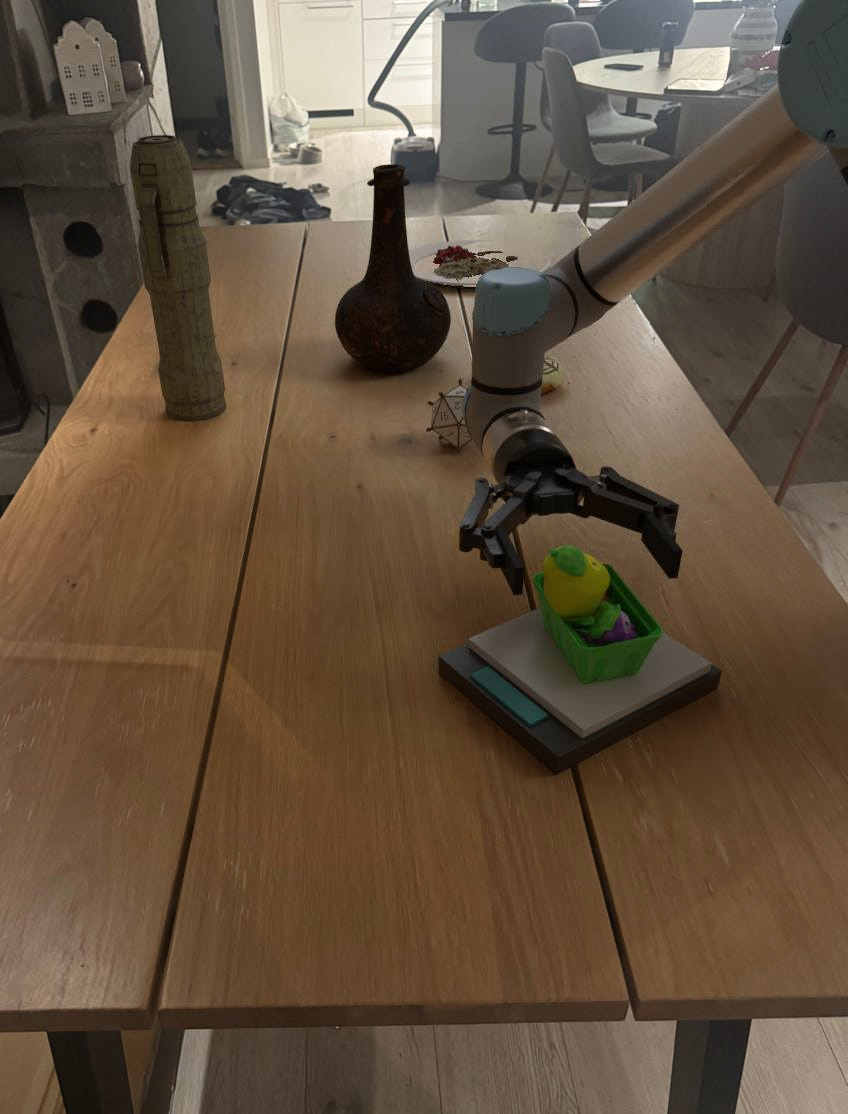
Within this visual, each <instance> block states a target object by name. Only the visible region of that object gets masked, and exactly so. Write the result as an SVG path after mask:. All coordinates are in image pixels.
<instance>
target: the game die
mask: <svg viewBox="0 0 848 1114" xmlns="http://www.w3.org/2000/svg"><path fill="white" fill-rule="evenodd" d="M457 383H458V385H457V386H455V387H454V388H452V389H450V390H449V391H447V392H446V393H444V392H443V391H438V396H439V398H438V399H437V400H435V401H434V402H433V401H431V400H429V401H427V405H428V406H432V407H431V420H430V421H431V422H430V427H426V430H425V432H428V433H429V432H431V431H433V432H434V433H436V434H437V435H438V441H440V440H443V439H444V440H445V441H446V442H448V443H449V444H450V445H452V446H453V447H455V448H456V450H455V453H456V455H457V456H459V455H460V454H461V448H463V447H464V446H465V445H467V444H468V443H470V442H471V441H473V439H472V438H471V436H470V435H469V433H468V429H467V428H466V427H465V423H464V418H463V414H462V401H463V398H464V395H465V393H466V391H467V390H468V388H467V387H465V386H464V385H463V379H462V378H461V377H459V379H458V382H457Z"/></svg>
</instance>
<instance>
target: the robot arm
mask: <svg viewBox="0 0 848 1114" xmlns="http://www.w3.org/2000/svg"><path fill="white" fill-rule="evenodd" d="M776 65H777V68H776V74H777V75H776V78H777V83H776V84H774V85H773V86H772V87H771V88H769V90H767V91H766V92H764V94H762V95H761V96H759V98H758V99H756V100H755V101H753V103H751V104H750V105H749V106H748V107H747V108H745V109H743V111H741V112H740V113H739V114H738V115H737V116H735V117H734V118H733V119H732V120H730V121H729V122H728V123H727V124H725V126H723V127H721V129H719V130H718V131H717V132H716V133H715V134H713V135H712V136H711V137H709V138H708V139H707V140H706V141H705V142H704V143H702V144H701V145H700V146H699V147H698V148H696V149H694V151H692V152H691V153H690V154H689V155H688V156H686V157H685V158H684V159H683V160H682V161H680V162H679V163H678V164H677V165H675V166H674V167H673V168H672V169H670V170H669V171H668V172H666V174H664V175H663V176H662V177H661V178H660V179H657V181H656V182H655V183H653V184H652V185H651V186H649V187H648V188H647V189H646V190H645V191H644V192H643V193H641V194H640V195H639V196H637V197H636V198H635V199H634V200H633V201H631V202H630V203H629V204H628V205H626V206H625V207H624V208H622V209H621V210H620V211H619V212H617V213H616V214H615V215H614V216H613V217H611V218H610V219H609V220H608V221H607V222H605V223H604V224H603V225H601V227H599V228H598V229H597V230H596V231H594V232H593V233H592V234H591V235H590V236H588V237H587V238H586V239H585V240H583V241H582V242H581V243H580V244H579V245H578V246H576V247H574V248H573V249H572V250H571V251H569V252H568V253H567V254H566V255H565V256H564V257H562V258H561V259H560V260H559V261H557V262H556V263H555V264H553V265H552V266H550V267H549V269H547V270H546V271H544V272H543V273H541V272H539V271H537V270H534V269H529V268H521V267H506V268H502V269H499V270H491V271H488V272H486V273H485V274H483V275H482V276H481V277H480V278H479V280H478V282H477V284H476V288H475V292H474V293H475V294H474V303H473V310H472V312H471V316H472V317H471V320H472V338H471V339H472V340H471V380H470V385H469V386H468V388H467V389H468V390H467V391H466V393H465V395H464V398H463V401H462V414H463V418H464V423H465V427H466V428H467V429H468V433H469V435H470V436H471V438H472V439H473V440H472V441H473V442H474V444H475V446H476V447H477V449H478V450H479V452H480V454H481V456H482V457H483V459H484V461H485V463H486V465H487V467H488V469H489V471H490V473H491V475H492V476H493V478H494V480H495V482H496V483H497V484H493V483H489V480H488V479H487V478H485V477H478V478H475V480H474V495H473V497H472V499H471V501H470V503H469V505H468V507H467V509H466V510H465V513H464V515H463V518H462V519H461V521H460V523H459V531H458V550H459V551H460V552H462V553H470V552H471V551H472V550H473V549H477V550H479V559H480V560H481V561H482V562H487V564H488V566H489V567H490V568H491V569H493V570H494V569H500V570H501V572H502V574H503V576H504V579H505V580H506V583H507V585H508V587H509V589H510V591H511V593H512V595H513V596H523V594H524V593H523V592H524V578H525V569H526V568H525V566H524V564H523V562H522V560H521V558H520V556H519V554H518V552H517V550H516V548H515V546H514V543H513V541H511V538H510V536H511V534H513V532H514V531H515V530H516V529H517V528H518V527H519V526H520V525H525V524H527V522H528V521H529V519H531V518H532V517H533V516H535V515H537V516H538V517H543V516H550V515H554V514H559V515H561V514H562V515H564V514H571V515H574V516H576V517H579V518H582V519H588V518H590V517H593V518H596V519H598V520H601V521H604V522H606V523H607V522H608V523H610V524H613V525H616V526H618V527H621V528H624V529H627V530H629V531H633V532H636V533H638V534H640V535H641V536H640V537H641V538H640V541H641V543H642V544H643V545H644V546H645V547H646V550H647V551H648V552H649V553H650V555H651V557H652V558H653V559H654V560H655V562H656V564H658V565H659V567H660V569H661V571H662V572H663V573H664V574H665V576H666V577H667V578H668V579H669V580H670V579H671V580H673V579H678V578H679V577H678V576H679V572H680V567H681V562H682V556H683V553H684V551H683V549H682V548H681V547H680V545H679V544H678V542H677V541H676V539H677V532H676V531H675V530H676V527H677V526H676V525H677V521H678V515H679V511H680V510H679V509H680V504H679V503H677V502H676V501H673V500H671V499H668V498H667V497H665V496H663V495H660V494H659V493H656V492H655V491H652V490H650V489H648V488H646V487H644V486H642V485H640V484H638V483H636V482H635V481H632V480H630V479H628V478H626V477H625V476H622V475H621V474H620V473H618V472H617V470H615V469H614V468H613V467H611V466H606V465H605V466H601V467H600V472H599V474H595V475H590V476H588V475H587V474H586V473H584V472H582V471H580V470H578V468H577V466H576V463H575V460H574V458H573V456H572V454H571V453H570V452H569V450H568V449H567V447H566V446H565V445H564V443H563V442H562V440H561V439H560V438H559V437H558V436H557V434H556V432H555V431H554V430H553V428H552V427H551V425H550V424H549V422H548V421H547V419H546V417H544V415H543V414H542V412H541V397H542V394H541V386H542V378H543V367H544V356H545V355H546V353H547V352H548V351H550V350H552V349H553V348H556V347H557V346H558V345H559V344H561V343H563V342H565V341H566V340H567V339H568V338H570V337H571V336H573V335H575V334H576V333H579V332H580V331H582V330H584V329H586V328H588V327H590V326H592V325H593V324H595V323H597V322H598V321H599V320H601V319H602V318H603V317H604V316H605V315H606V313H607V312H609V311H610V310H612V309H613V308H615V306H617V305H618V304H619V303H621V302H622V301H623V300H625V299H626V298H627V297H629V296H630V295H632V294H633V293H634V292H636V291H637V290H639V289H641V287H643V286H644V285H645V284H647V283H648V282H649V281H651V280H652V279H654V278H655V277H657V276H658V275H660V274H661V273H662V272H664V271H665V270H666V269H668V268H669V267H671V266H673V264H676V262H678V261H679V260H681V259H682V258H683V257H685V256H686V255H688V254H689V253H690V252H691V251H693V250H694V249H696V248H698V246H700V245H702V244H703V243H704V242H705V241H707V240H708V239H710V238H711V237H712V236H714V235H715V234H717V233H719V232H720V231H721V230H722V229H724V228H725V227H727V226H728V225H729V224H730V223H732V222H733V221H735V220H736V219H738V218H739V217H740V216H742V215H743V214H744V213H746V212H747V211H749V210H750V209H752V208H753V207H755V206H756V205H757V204H759V203H760V202H761V201H763V200H764V199H766V198H767V197H769V196H770V195H771V194H772V193H774V192H775V191H777V190H779V188H781V187H782V186H783V185H785V184H786V183H788V182H790V180H792V179H793V178H795V177H796V176H798V175H799V174H800V173H802V172H803V171H805V170H806V169H808V168H809V167H810V166H812V165H813V164H814V163H816V162H817V161H819V160H820V159H821V158H823V157H824V156H825V155H827V154H828V153H830V155H831V157H832V159H833V161H834V162H835V164H836V167H837V168H838V170H839V172H840V174H841V176H842V178H843V180H844V183H845V184H846V186H847V187H848V0H800V1H799V3H798V4H797V5H796V8H795V9H794V11H793V12H792V15H791V17H790V19H789V20H788V22H787V25H786V28H785V30H784V32H783V35H782V40H781V43H780V47H779V51H778V56H777V64H776ZM499 499H502V501H503V502H504V504H502V505H501V506H500V507H499V508H498V509H497V510H496V511H495V512H494V513H493V514H492V515H491V516H489V512H490V510H492V509H494V504H495V503H497V502H498V500H499ZM582 501H583V502H582ZM581 502H582V504H581ZM488 517H489V518H488ZM487 518H488V519H487Z"/></svg>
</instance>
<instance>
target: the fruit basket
mask: <svg viewBox="0 0 848 1114" xmlns="http://www.w3.org/2000/svg"><path fill="white" fill-rule="evenodd" d="M541 567H542V568H541V569H542V572H538V573H535V574H534V575H533V576H532V581H533V584H534V589H535V591H536V592H537V593H536V594H537V597H538V602H539V608H540V607H541V612H542V617H543V622H544V626H545V627H546V629H547V630H548V632H549V633H550V634H551V635H552V636H553V639H554V641H555V643H556V644H557V646H558V647H559V649H560V650H561V651H563V652H564V656H565V658H566V659H567V661H568V662H569V664H570V665H571V667H573V668H574V669H575V672H576V675H577V676H578V678H579V679H580V681H581V682H582V683H583V684H587V683H590V682H593V681H594V680H595V681H603V680H608V679H614V678H619V677H622V676H624V675H625V674H626V675H635V674H637V673H638V671H639V670H640V668H641V666H642V664H643V663H644V661H645V659H646V657H647V656H648V654H649V652H650V650H651V649H652V647H653V645H654V644H655V643H656V642H657V641H658V640H659V638H660V637H661V635H662V634H663V632H664V629H663V627H662V626H661V624H660V623H659V622H658V620H656V618H655V617H654V616H653V615H652V613H651V612H650V611H649V610H648V609H647V608H646V606H645V605H644V604H643V603H642V602H641V600H640V599H639V598H638V596H637V595H636V594H635V593H634V591H633V590H632V589H631V588H630V587H629V585H628V584H627V583H626V582H625V581H624V579H623V578H622V577H621V576H620V574H619V573H618V572H617V571H616V569H615V568H614V567H613V566H612V565H610V564H608V563H602V562H601V561H599V560H598V559H596V558H595V557H594V556H593V555H590V554H588V553H586V552H583V551H582V550H580V549H579V548H578V547H577V546H575V545H571V544H565V545H560V546H558V547H556V548H555V547H554V548H551V549H550V550H549V551H548V554H547V555H546V556H545V558H544V560H543V562H542V566H541Z"/></svg>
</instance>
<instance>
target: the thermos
mask: <svg viewBox="0 0 848 1114" xmlns="http://www.w3.org/2000/svg"><path fill="white" fill-rule="evenodd" d="M129 162H130V163H129V169H130V170H129V171H130V177H131V183H132V190H133V195H134V201H135V202H134V203H135V207H136V210H137V211H138V216H139V219H138V226H139V234H138V241H137V243H138V244H137V249H138V254H139V261H140V267H141V273H142V278H143V285H144V288H145V290H146V291H147V293H148V295H149V300H150V306H151V312H152V316H153V317H152V318H153V323H154V329H155V330H154V331H155V335H156V342H157V347H158V354H159V364H158V369H157V371H158V377H159V383H160V389H161V395H162V397H163V399H164V404H165V413H166V415H167V414H168V415H167V416H168V417H169V416H170V417H169V418H171V417H172V418H171V419H173V418H174V419H173V420H176V419H180V420H179V421H182V420H198V421H203V420H202V419H205V420H208V418H209V419H212V418H215V417H217V416H219V415H221V414H222V413H223V411H224V412H225V410H226V409H227V402H226V399H225V391H226V385H225V377H224V370H223V362H222V359H221V357H220V355H219V352H218V351H217V346H216V337H215V330H214V322H213V314H212V313H213V312H212V306H211V299H210V292H209V289H210V287H211V286H210V285H211V282H212V279H211V271H210V262H209V254H208V246H207V239H206V237H205V235H204V233H203V231H202V228H201V225H200V222H199V221H200V220H199V215H198V214H197V210H196V206H197V198H196V189H195V183H194V175H193V167H192V162H191V159H190V156H189V154H188V151H187V150H186V147H185V145H184V143H183V141H182V139H180V138H176V135H170V134H156V135H155V134H154V135H145V136H142V137H139V138H137V140H136V141H134V142H132V147H131V154H130V161H129ZM225 408H226V409H225Z"/></svg>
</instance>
